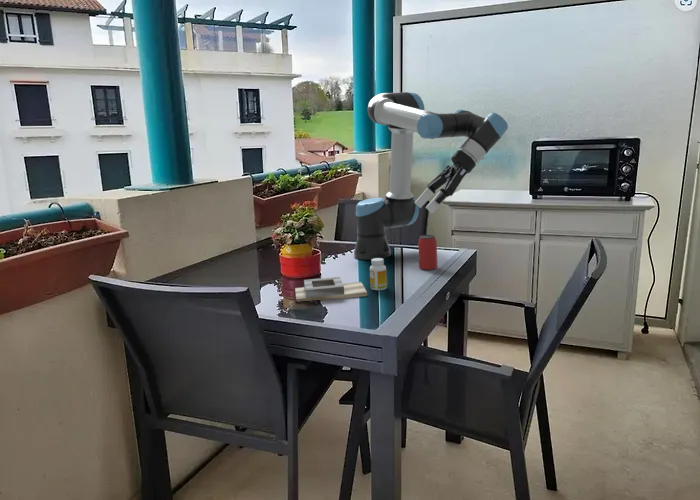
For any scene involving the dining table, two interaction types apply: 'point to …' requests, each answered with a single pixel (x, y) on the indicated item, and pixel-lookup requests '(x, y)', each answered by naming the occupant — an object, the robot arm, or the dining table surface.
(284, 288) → the dining table surface
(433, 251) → the beer can
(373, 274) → the supplement bottle
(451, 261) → the dining table surface
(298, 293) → the socket board
